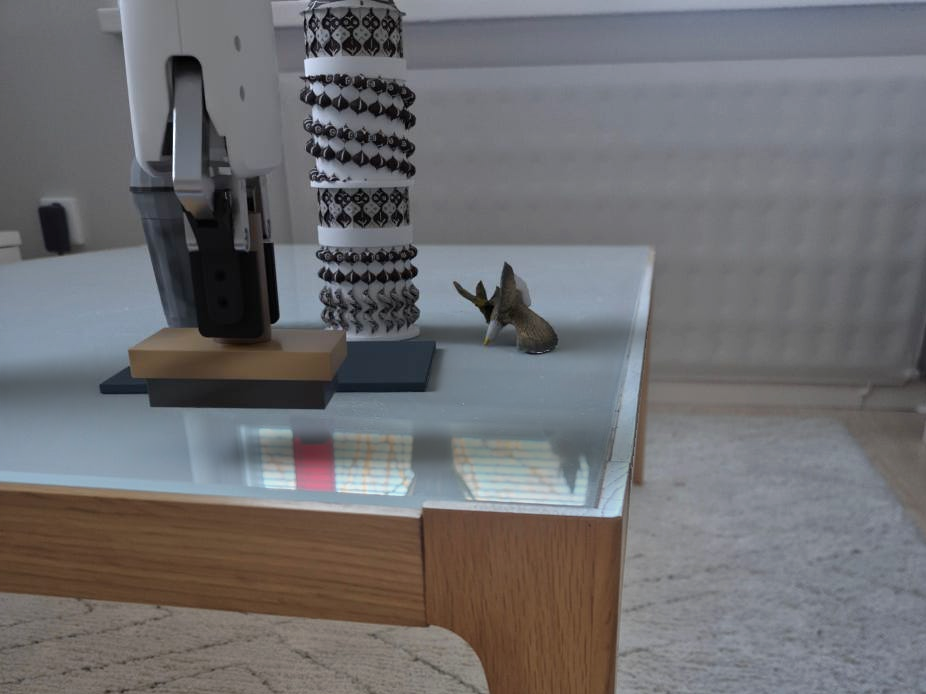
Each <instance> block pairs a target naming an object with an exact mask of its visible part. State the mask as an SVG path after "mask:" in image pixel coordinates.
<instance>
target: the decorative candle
mask: <svg viewBox="0 0 926 694" xmlns="http://www.w3.org/2000/svg"><path fill="white" fill-rule="evenodd" d="M298 14H299V15H300V16H301V17H302V20H303V21H302V23H303V33H304V45H305V46H304V47H305V57H306V59H303V64H304V74H305V76H304V75H302V76H301V75H300V76H298V78H299V79H300V80H302V81H304V83H305V84H307V83H309V86H307V85H305V86H304V87H303V88H301V90H300V91H299V92H298V94H297V96H298V97H297V98H298V100H300V102H302V103H304V104H305V105H306V106H310V107H311V112H312V115H311V114H309V115H308V116H307V117H306V118H304V120H303V121H302V127H303V129H304V131H306V132H307V133H309V134H310V135H311V138H310V139H308V140H307V141H306V143H305V145H304V151H305V152H306V153H308V154H309V155H311V156H312V157H314V158H315V162H316V163H315V166H313V167H312V168H311V169H309V172H308V174H309V175H308V178H309V180H310V187H312V188H316V193H317V194H316V196H317V209H318V220H319V225H317V234H318V237H317V238H318V245H320V246H321V247H319V248H318V249H317V250H316V251H315V257H316V259H318V260H319V261H321V262H323V264H324V265H323V266H322V267H321V268H320V269H319V270H318V271H317V277H318V278H319V279H320V280H323V281H324V282H325V285H324V287H323V288H322V289H321V290H320V292H319V293H318V299H319V301H320V302H321V303H322V305H324V306H325V307H324V308H323V309H322V311H321V312H320V319H321V320H322V322H324V323H325V325H327V326H326V327H325V328H324V330H346V339H347V341H406V340H409V339H412V338H415V337H418V336H419V335H420V326H419V325H417V324H415V323H416V321H418V320H419V319H420V314H421V310H420V308H419V307H418V306H417V305H416V303H417V301H418V300H419V298H420V290H419V289H418V288H417V287H416V286H415V284H414V283H413V282H412V280H413V279H414V278H417V276H418V275H419V274H418V273H419V269H418V267H416V265H413V263H412V262H411V261H412V260H414V259H415V258H416V257H417V255H418V253H419V250H418V248H416V247H415V246H414V245H412V244H413V243H414V235H413V233H414V232H413V223H411V218H410V195H409V191H410V187H414V186H415V180H414V178H412V177H414V176H415V175H416V173H417V168H416V166H415V165H414V164H413V163H411V162H410V161H409V158H410V157H411V156H413V155H414V153H415V152H416V145H415V144H414V143H413V142H411V141H410V140H409V138H408V137H407V138H406V131H408V132H407V133H408V134H409V132H410V129H412V128H413V127H415V125H416V124H417V117H416V116H415V114H413V113H412V112H411V111H410V110H409V108H410V107H412V105H414V103H415V101H416V99H417V96H416V94H415V92H414V91H412V90H411V88H409V86H408V85H406V82H407V81H408V77H407V76H408V75H407V72H408V71H407V60H406V59H405V58H404V33H403V17H407V13H406V12H405V11H401V10H400V9H399V8H398V7H397V5H396V3H395V2H394V0H309V2H308V5H307V7H306V8H305V10H302V11H301V12H298Z"/></svg>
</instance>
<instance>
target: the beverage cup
mask: <svg viewBox="0 0 926 694" xmlns="http://www.w3.org/2000/svg"><path fill="white" fill-rule="evenodd" d="M129 182H130V186H129V192H131V193H132V194H131V195H132V198H133V203H134V207H135V209H136V212H137V215H138V217H139V218H140V220H141V224H142V228H143V233H144V237H145V241H146V245H147V249H148V253H149V257H150V263H151V266H152V271H153V274H154V278H155V282H156V286H157V291H158V294H159V295H158V296H159V299H160V303H161V307H162V311H163V315H164V316H165V317H164V318H165V320H166V324H167V327H169V328H198V324H197V316H196V308H195V300H194V292H193V284H192V276H191V268H190V260H189V252H188V251H189V250H188V247H187V243H186V235H185V225H184V215H183V211H182V207H181V202H180V200H179V199H178V197H177V196H176V194H175V191H174V186H173V176H170V177H152V176H150V175H149V174H148V173H147V172H145V171H144V170H143V168H142V167H141V166H140V165H139V163H138V161H137V159H136V154H134V155H133V158H132V161H131V165H130V171H129Z"/></svg>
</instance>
